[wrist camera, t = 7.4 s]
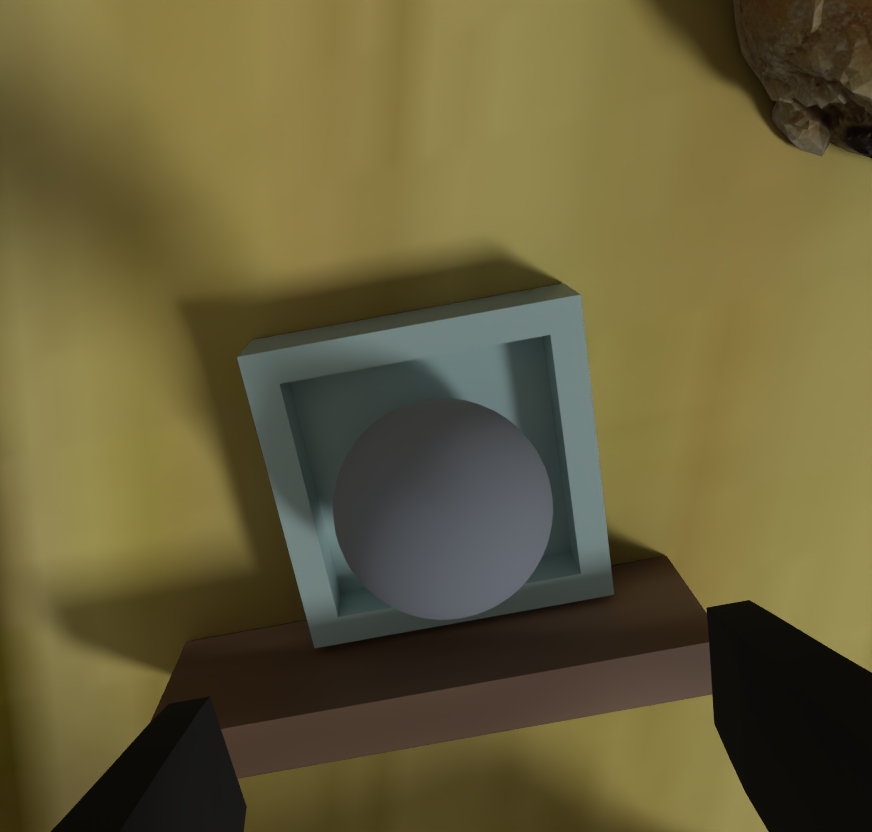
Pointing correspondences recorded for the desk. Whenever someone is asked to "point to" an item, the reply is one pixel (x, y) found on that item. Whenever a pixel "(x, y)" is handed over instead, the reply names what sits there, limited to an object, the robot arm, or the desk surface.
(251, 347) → the dish
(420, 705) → the rail
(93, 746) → the desk surface
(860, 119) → the bread roll
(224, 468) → the desk surface
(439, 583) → the ball
